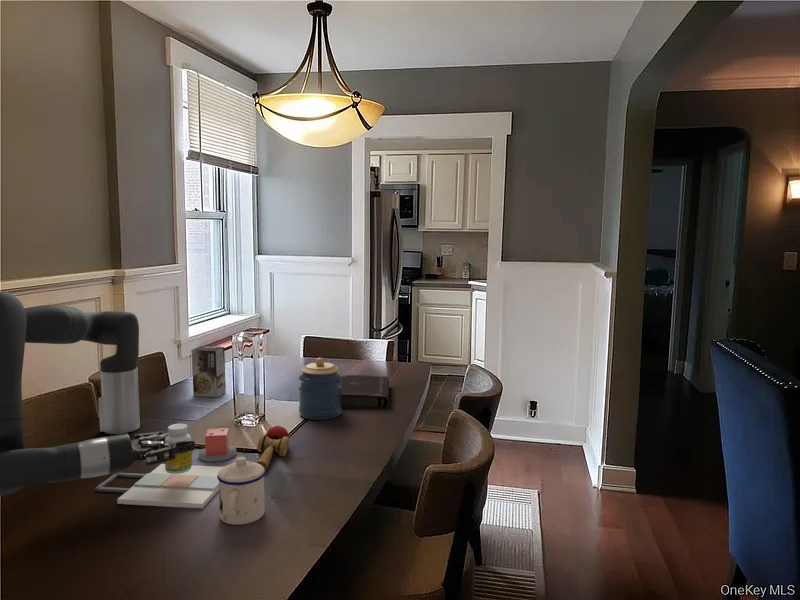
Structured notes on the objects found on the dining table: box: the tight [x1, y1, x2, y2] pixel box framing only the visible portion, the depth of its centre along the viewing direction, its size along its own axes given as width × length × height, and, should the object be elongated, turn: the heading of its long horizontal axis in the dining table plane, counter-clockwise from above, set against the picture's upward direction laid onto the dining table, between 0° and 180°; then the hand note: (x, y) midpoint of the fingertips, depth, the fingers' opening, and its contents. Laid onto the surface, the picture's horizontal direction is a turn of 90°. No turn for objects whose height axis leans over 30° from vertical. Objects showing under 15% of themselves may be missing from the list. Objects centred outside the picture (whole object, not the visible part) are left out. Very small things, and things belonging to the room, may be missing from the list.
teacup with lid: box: [217, 456, 266, 526], centre depth 112 cm, size 12×9×12 cm
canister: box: [298, 357, 342, 421], centre depth 176 cm, size 13×13×18 cm
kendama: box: [255, 425, 290, 472], centre depth 143 cm, size 8×6×18 cm
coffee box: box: [191, 345, 227, 398], centre depth 196 cm, size 9×6×16 cm
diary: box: [340, 374, 390, 409], centre depth 196 cm, size 19×25×5 cm
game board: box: [94, 463, 224, 509], centre depth 127 cm, size 26×18×1 cm
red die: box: [198, 427, 237, 463], centre depth 144 cm, size 9×9×6 cm
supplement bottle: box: [164, 423, 193, 474], centre depth 125 cm, size 5×5×10 cm
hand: (190, 440), depth 126 cm, fingers closed on supplement bottle, 5 cm apart
